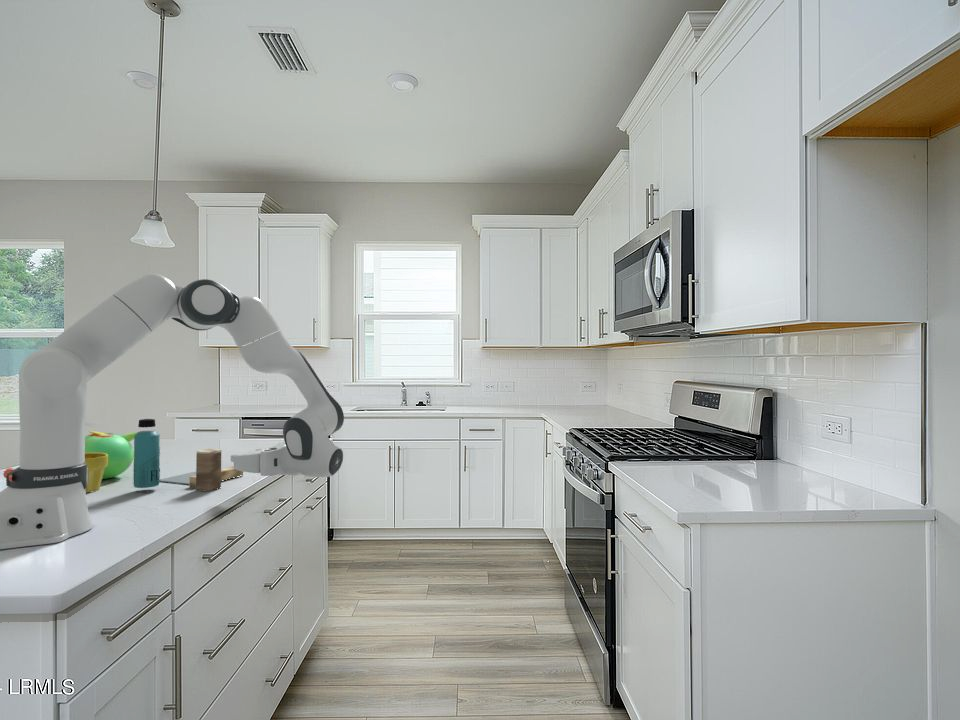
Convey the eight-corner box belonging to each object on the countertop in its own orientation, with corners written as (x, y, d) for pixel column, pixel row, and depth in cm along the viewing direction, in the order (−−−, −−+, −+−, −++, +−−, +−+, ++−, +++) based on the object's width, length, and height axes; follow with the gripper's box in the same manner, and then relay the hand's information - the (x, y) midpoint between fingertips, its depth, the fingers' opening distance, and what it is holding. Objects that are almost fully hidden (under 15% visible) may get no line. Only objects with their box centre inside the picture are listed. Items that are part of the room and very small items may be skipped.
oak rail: (197, 488, 162) (197, 477, 162) (189, 487, 163) (189, 476, 163) (243, 476, 179) (243, 466, 179) (235, 475, 180) (235, 465, 180)
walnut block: (208, 491, 158) (209, 452, 158) (195, 490, 159) (196, 451, 159) (220, 488, 162) (221, 449, 162) (208, 486, 163) (209, 448, 163)
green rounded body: (52, 481, 167) (53, 431, 167) (105, 471, 183) (106, 425, 183) (98, 486, 162) (99, 435, 162) (148, 475, 178) (149, 428, 178)
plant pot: (97, 494, 153) (98, 458, 153) (54, 495, 150) (54, 459, 150) (113, 486, 163) (114, 452, 163) (73, 487, 160) (73, 452, 160)
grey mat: (193, 485, 165) (193, 484, 165) (157, 481, 169) (157, 480, 169) (229, 476, 178) (229, 475, 178) (194, 472, 183) (194, 471, 183)
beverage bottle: (151, 493, 154) (152, 420, 154) (126, 493, 154) (128, 420, 154) (164, 488, 161) (165, 417, 161) (141, 487, 161) (142, 417, 161)
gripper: (310, 440, 162) (270, 438, 167) (260, 452, 143) (217, 449, 147) (310, 462, 162) (270, 459, 167) (260, 477, 143) (217, 473, 147)
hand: (245, 455), depth 157 cm, fingers open, 8 cm apart
